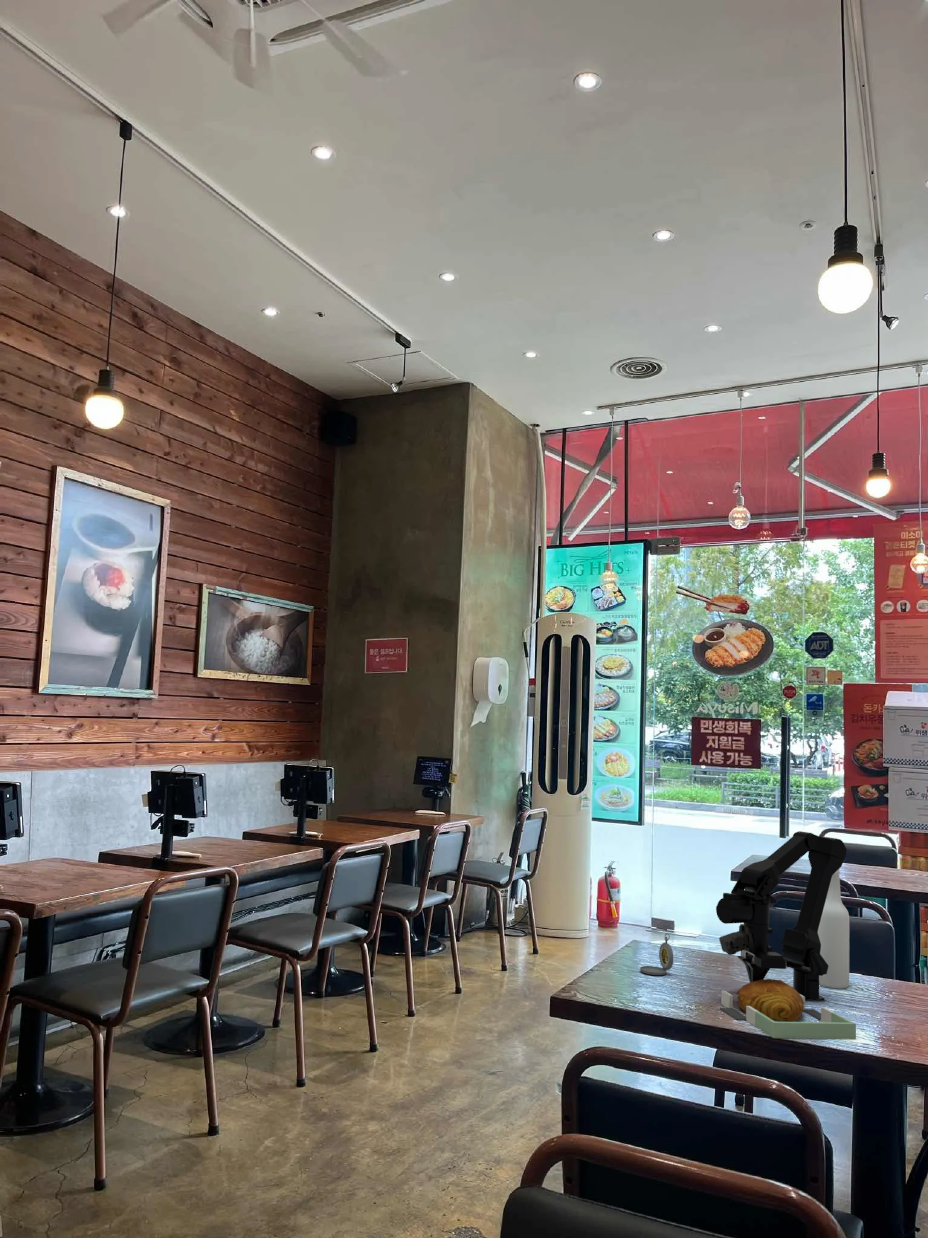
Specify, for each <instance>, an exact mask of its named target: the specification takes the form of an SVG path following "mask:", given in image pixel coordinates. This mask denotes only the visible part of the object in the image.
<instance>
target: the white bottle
mask: <svg viewBox="0 0 928 1238" xmlns="http://www.w3.org/2000/svg"><path fill="white" fill-rule="evenodd" d="M840 869H841V867H840V868H839V869H838V870H837V871H836V872H835V873H834V874H833V875H832V878H831V882H830V886H829V890H828V893H827V897H826V901H825V905H824V909H823V913H822V917H821V920H820V924H819V928H818V936H819V939H820V943H821V950H820V955H821V956H822V957H823V959H824V960H825V961H826V963H827V964H828V970H827V974H824V975H823V976H820V975H819V985H820V986H819V987H822V986H824V987H823V988H828V989H833V988H838V989H837V990H842V989H843V988H845V989H847V988H848V986H849V985H850V915H849V911H848V909H847V908H846V906H845V905H844V904H843V901H842V894H841V881H840V880H841V879H840V873H841V871H840ZM843 990H844V989H843Z"/></svg>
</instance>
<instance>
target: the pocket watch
mask: <svg viewBox="0 0 928 1238" xmlns="http://www.w3.org/2000/svg"><path fill="white" fill-rule="evenodd" d="M670 936H671V935H670V934H669V933H667V932H666V933H665V934H664V940H665V942H663V943H662V944H661V945H660V947H659V950H658V953H659V954H658V959H659V962H660V965H661V967H660V966H653V965H644V966H642V965H641V966H639V967H640V968H639V971H640V972H642V973H644V974H646V975H652V976H663V975H666V974H667V971H669V970H671V969H672V967H673V965H674V952H673V948H672V946H671V945H670V943H668V941H669V940H670Z"/></svg>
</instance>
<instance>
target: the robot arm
mask: <svg viewBox="0 0 928 1238" xmlns="http://www.w3.org/2000/svg"><path fill="white" fill-rule="evenodd" d="M847 851H848V850H847V847H846V845H845V843H844V841H843V840H842V839H839V838H835V837H830V836H829V837H828V836H821V835H816V834H814V833H812V832H808V831H807V832H806V831H800V830H799V831H796V832H794V833H793V834H792V836H791V838H789V839H788V840H787V841H785V842H784V843H783V844H782V845H781V846H780V847H779V848H777V849H776V850H775V851H773V853H771V854H770V855H769V856H768V857H766V858H765V859H763V860H759V861H756V862H753V863H751V864H748V865H747V866H745V867H744V868H743V869H742V870H741V871H740V875H739V877H738V879H737V880H736V882H735V885H734V886H733V887H732V889H731V892H730V893H729V892H723V894H722V898H721V899H719V900H718V902H717V904H716V907H715V911H716V915H717V918H718V920H719V921H720V922H721V923H723V924H724V925H725V924H726V925H727V924H740V925H739V926H738V931H734V932H731V933H727V934H724V935H722V936H720V937H718V940H719V944H720V946H721V951H722V952H723V953H726V954H727V955H729V956H733V955H736V954H737V953H739V952H740V955H737V959H739V960H740V961H741V962H742V963H743V964H744V965H745V968H746V973H747V976H748V981H749V983H750V982H754V981H758V980H762V979H766V975H767V974H768V972H769V971H770V970H771V969H774V970H775V969H777V970H779V969H780V970H786V969H787V968H790V969H793V972H792V973H793V974H792V976H793V979H792V981H793V982H792V983H793V986H792V987H793V988H794V989H795V990H796V991H797V992H798V993H799V994H801V995H803V996H804V997H805V1001H825V1000H826V998H825V997H823V996H821V995H820V986H819V975H820V976H823V975H824V974H827V970H828V964H827V963H826V961H825V960H824V959H823V957H822V956H821V955H820V950H821V943H820V939H819V936H818V928H819V924H820V920H821V917H822V913H823V909H824V905H825V901H826V897H827V893H828V890H829V886H830V882H831V878H832V875H833V874H834V873H835V872H836V871H837V870H838V869H839V868H840V869H841V868H842V866H843V863H844V861H845V859H846V855H847ZM807 853H808V854H807ZM806 854H807V856H808V857H807V858H808V861H809V864H810V865H809V866H810V868H811V869H810V873H809V878H808V881H807V884H806V888H805V892H804V895H803V899H802V903H801V906H800V911H799V914H798V918H797V922H796V924H795V925H794V926H793V927H792V928H786V929H785V931H784V934H783V939H782V941H781V943H780V944H781V945H782V947H781V953H782V954H780V953H778V952H776V951H774V952H773V948H772V946H770V945H769V944H770V943H769V942H770V941H769V940H770V934H773V928H771V927H770V906H771V905H770V904H776V903H777V899H775V898H774V897H773V896H772V894H771V893H772V892H773V891H774V890H775V889H776V888H777V886H778V885H779V883H780V881H781V880H780V879H781V876H782V875H783V873H785V872H786V871H787V870H789V869H790V868H791V867H792V866H793V865H795V864H796V863H797V862H798V861H799V860H800V859H802V857H804V856H805V855H806ZM840 869H839V870H840Z"/></svg>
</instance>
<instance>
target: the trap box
mask: <svg viewBox="0 0 928 1238" xmlns="http://www.w3.org/2000/svg"><path fill="white" fill-rule="evenodd" d="M800 996H801V997H802V999H803V1002H804V1005H803V1011H802V1012H803V1013H806V1014H807V1015H809V1016H810V1017H812V1018H815V1019H817V1020H818V1021H816V1022H815V1021H814V1022H813V1021H812V1022H811V1021H793V1022H784V1021H776V1020H772V1019H770V1018H768V1017H767V1016H765V1015H764V1014H762V1013H760V1012H759V1011H757V1010H755V1009H754V1008H752V1007H751V1006H746V1012H745V1015H744V1014H742V1012H739V1011H738V1010H736V1009H735V1008H733V1006H734V1003H733V1001H734V998H733V997H734V995H732V994H731V993H729V992H728V991H726V990H721V1005H722V1006H724V1007H720V1008H719V1010H721V1011H722V1012H724V1014H727V1015H728V1016H730V1017H731V1018H733V1019H734V1020H735V1021H746V1022H747V1023H749V1024H751V1025H752V1026H754V1027H756V1028H757V1029H759V1030H760V1029H761V1030H760V1031H762V1032H763V1031H764V1032H763V1033H765V1034H766V1035H768V1036H769V1037H771V1038H772V1039H810V1038H813V1040H814V1039H818V1040H819V1039H824V1040H827V1039H828V1040H829V1039H830V1040H831V1039H833V1040H834V1039H835V1040H836V1039H837V1040H854V1039H855V1040H856V1039H857V1023H856V1022H854V1021H851V1020H849V1019H847V1018H846V1017H844V1016H842V1015H840V1014H838V1013H836V1012H834V1011H832V1010H830V1009H829V1008H827V1007H825V1006H821V1007H820V1011H818V1010H816V1009H815V1008H806V1000H805V997H804V996H803V995H801V994H800Z"/></svg>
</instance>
